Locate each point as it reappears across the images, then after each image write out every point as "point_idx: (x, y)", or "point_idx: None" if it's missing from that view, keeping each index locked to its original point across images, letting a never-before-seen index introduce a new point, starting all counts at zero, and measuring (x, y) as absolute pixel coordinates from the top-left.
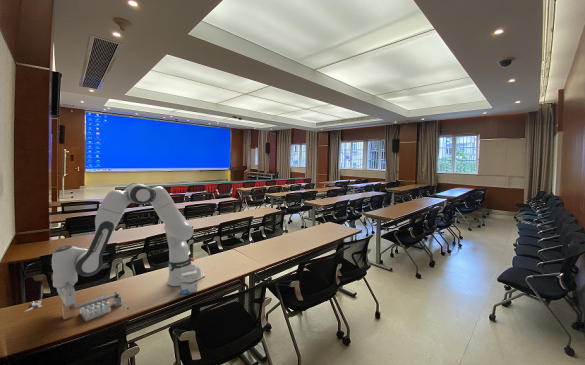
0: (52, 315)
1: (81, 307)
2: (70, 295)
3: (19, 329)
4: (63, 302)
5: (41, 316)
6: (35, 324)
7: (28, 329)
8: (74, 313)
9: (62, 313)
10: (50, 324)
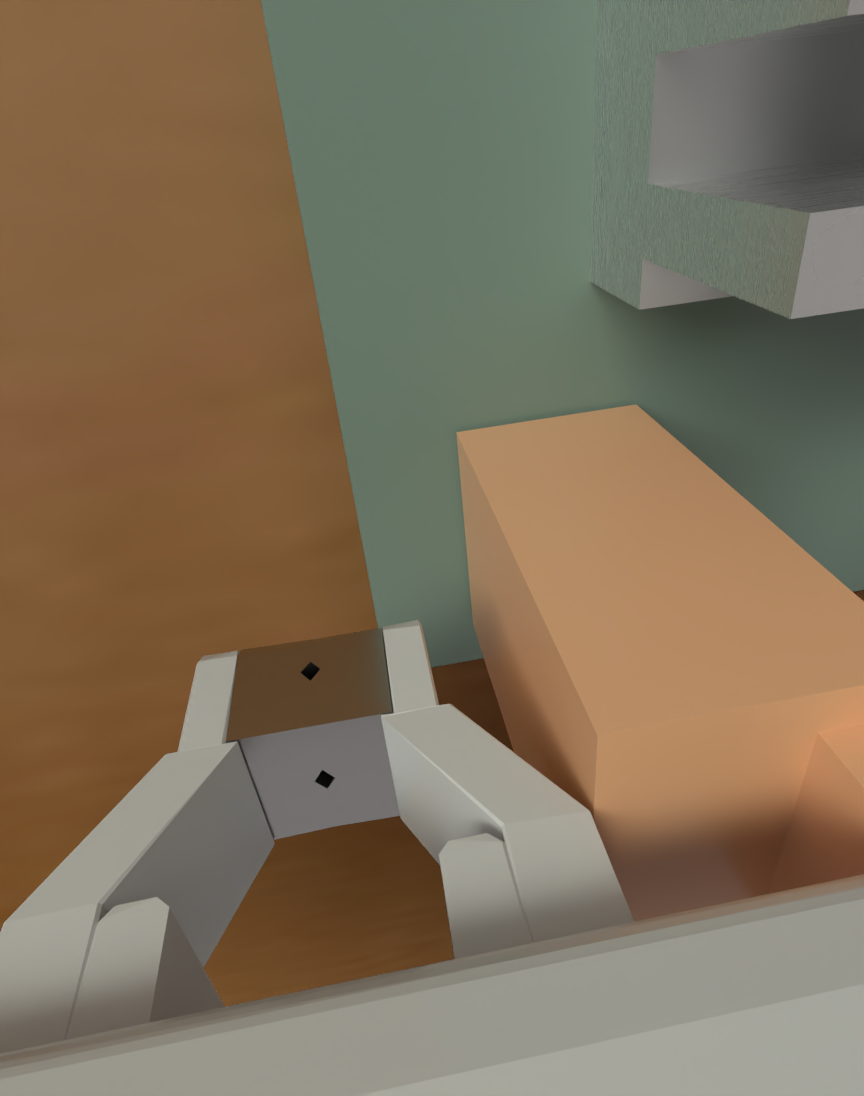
0: (112, 741)
1: (704, 271)
2: (80, 1052)
3: (334, 966)
4: (218, 900)
5: (40, 860)
6: (319, 872)
7: (421, 902)
8: (665, 443)
9: (495, 690)
10: (501, 728)
